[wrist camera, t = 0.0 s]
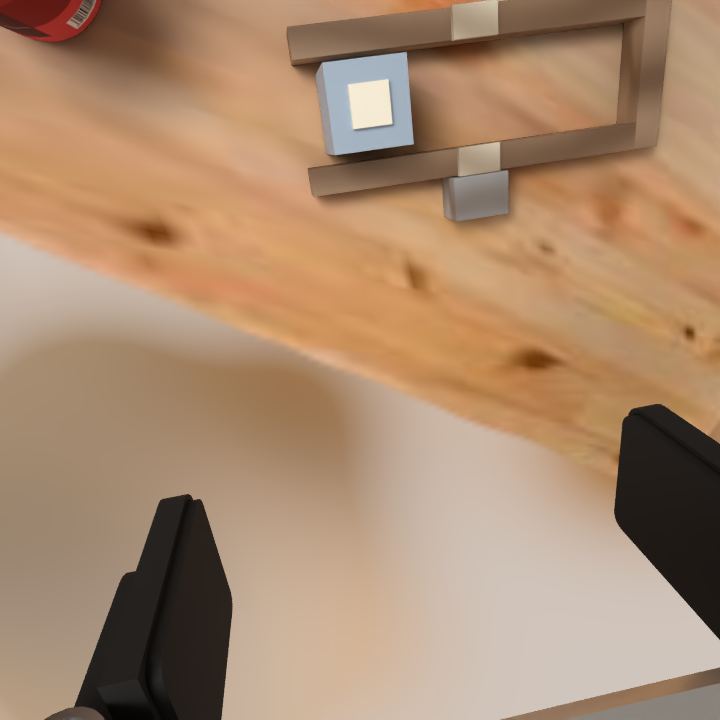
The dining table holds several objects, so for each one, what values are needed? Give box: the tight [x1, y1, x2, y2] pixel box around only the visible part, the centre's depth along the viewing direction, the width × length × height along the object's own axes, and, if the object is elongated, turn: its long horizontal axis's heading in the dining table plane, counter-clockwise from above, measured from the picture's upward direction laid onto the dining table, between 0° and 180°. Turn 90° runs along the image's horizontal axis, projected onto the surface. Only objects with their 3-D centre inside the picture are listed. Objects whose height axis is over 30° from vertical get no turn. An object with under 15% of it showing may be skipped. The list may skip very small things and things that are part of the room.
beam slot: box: [287, 0, 672, 221], centre depth 36 cm, size 13×26×3 cm, turn 97°
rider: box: [315, 52, 414, 155], centre depth 33 cm, size 5×5×6 cm
